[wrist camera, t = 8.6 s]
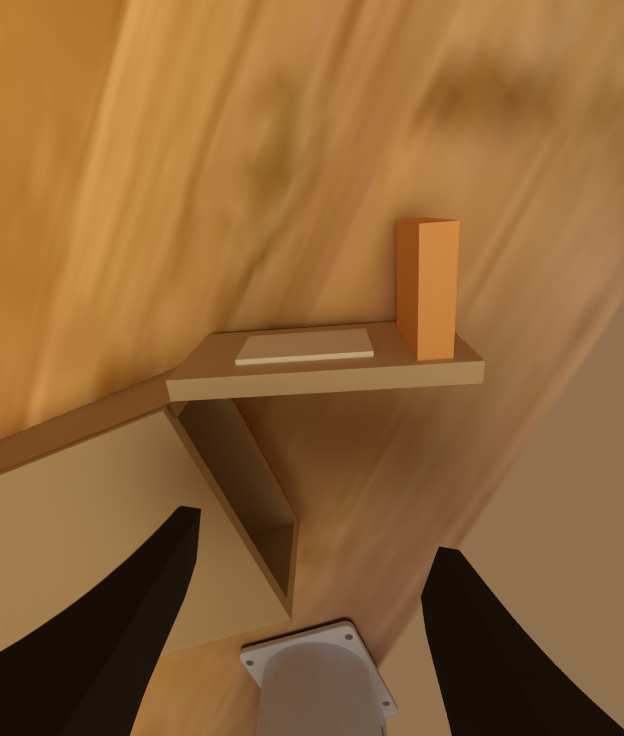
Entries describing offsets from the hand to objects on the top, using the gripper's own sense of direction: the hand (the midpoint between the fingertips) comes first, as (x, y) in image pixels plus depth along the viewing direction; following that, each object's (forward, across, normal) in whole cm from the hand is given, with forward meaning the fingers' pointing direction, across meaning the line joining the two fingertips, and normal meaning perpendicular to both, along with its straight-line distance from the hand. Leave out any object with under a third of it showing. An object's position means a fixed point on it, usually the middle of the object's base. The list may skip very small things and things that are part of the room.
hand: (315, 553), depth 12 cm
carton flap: (+9, +1, -6) cm, 11 cm away
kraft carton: (+9, +10, +7) cm, 15 cm away
